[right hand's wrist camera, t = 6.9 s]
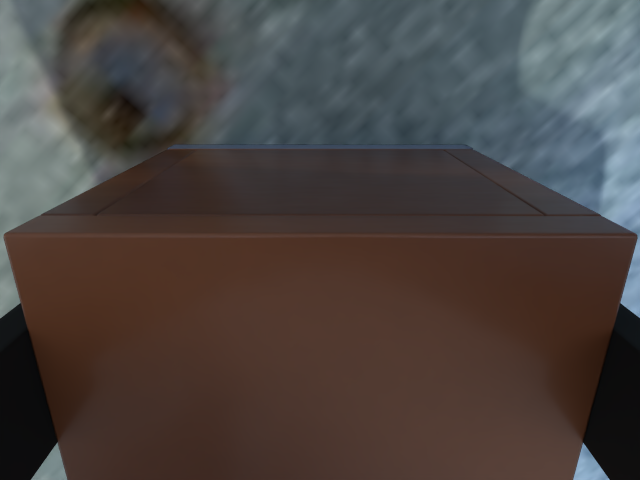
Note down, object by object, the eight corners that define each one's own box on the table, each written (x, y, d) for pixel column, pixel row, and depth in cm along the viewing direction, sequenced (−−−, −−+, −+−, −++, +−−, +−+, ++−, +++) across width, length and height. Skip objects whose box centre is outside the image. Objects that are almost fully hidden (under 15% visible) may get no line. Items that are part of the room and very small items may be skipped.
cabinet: (426, 489, 23) (497, 768, 14) (213, 489, 23) (141, 768, 14) (466, 145, 17) (641, 233, 8) (174, 144, 17) (-1, 232, 8)
